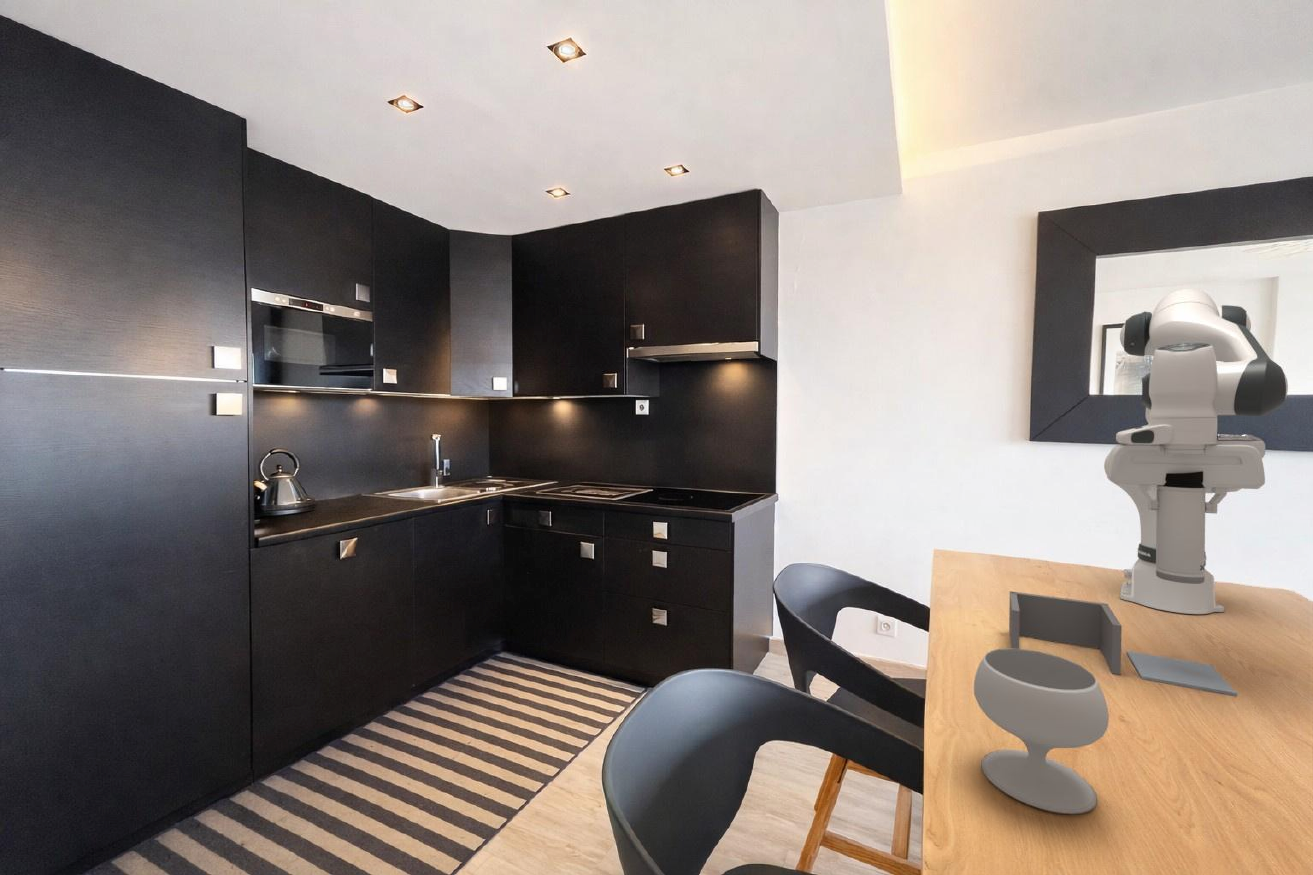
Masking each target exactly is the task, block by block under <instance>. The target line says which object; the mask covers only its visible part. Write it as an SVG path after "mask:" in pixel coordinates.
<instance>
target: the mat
mask: <svg viewBox="0 0 1313 875" xmlns="http://www.w3.org/2000/svg"><path fill="white" fill-rule="evenodd" d="M1126 655H1127V657H1128V659H1129V661H1130V662H1131V664H1132V665H1133V667H1134V669H1135V671H1136V672H1137V674H1138V676H1139V678H1140V679H1141V680H1146V681H1150V682H1156V683H1161V684H1162V683H1163V684H1166V685H1172V684H1174V685H1173V686H1179V687H1182V688H1183V687H1184V688H1190V689H1196V690H1199V691H1200V690H1201V691H1207V692H1212V693H1217V694H1224V695H1228V696H1233V697H1238V693H1237V691H1236V690H1235V689H1234V688H1233V687H1232V686H1231V685H1230V684H1229V683H1228V681H1226V679H1225V678H1224V677H1223V676H1222V675H1221V674H1220V673H1219V672H1218V670H1217V669H1216V668H1215V667H1214V666H1213V665H1212V664H1209V663H1204V662H1197V661H1191V660H1185V659H1179V658H1172V657H1166V656H1161V655H1160V656H1159V655H1155V654H1148V653H1143V652H1135V651H1130V650H1126Z"/></svg>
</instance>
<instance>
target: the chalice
mask: <svg viewBox="0 0 1313 875" xmlns="http://www.w3.org/2000/svg"><path fill="white" fill-rule="evenodd" d="M973 695H974V697H975V700H976V701H977V702H976V703H977V704H978V707H979V709H980V710H982V712H983V713H984V715H986V717H987V718H988V719H990V721H992V722H993V723H994V724H996V725H997V726H998V727H999V728H1001V729H1002V730H1004V731H1006V732H1008V733H1009V734H1011V735H1012V736H1014V737H1016V738H1018V739H1019V740H1020V741H1021V742H1022V743H1023V745H1025V747H1026V749H1027V751H1024V750H1020V749H1019V750H1018V749H1017V750H1016V749H1000V750H995V751H991V752H989V753H988V754H986V755H985V756H984V757H983V758H982V760H981V765H980V766H981V770H982V772H983V773H984V775H985V776H986V779H988V780H989V782H990V783H991V784H993V786H995V787H996V788H998V789H999V790H1000V791H1002V792H1003V793H1005V795H1008V796H1010V797H1012V798H1014V799H1016V800H1017V801H1020V802H1021V803H1024V804H1026V805H1028V806H1032V807H1034V808H1038V809H1040V810H1043V811H1046V812H1047V811H1048V812H1052V813H1058V814H1065V815H1067V814H1069V815H1074V814H1077V815H1078V814H1084V813H1087V812H1090V811H1092V810H1093V809H1094V808H1095V807H1096V806H1097V804H1098V801H1099V800H1098V796H1097V792H1096V791H1095V789H1094V788H1093V786H1092V785H1091V784H1090V783H1089V782H1088V781H1087V779H1085V777H1083V776H1081V775H1080V774H1079V773H1077V772H1076V771H1075V770H1073V769H1072V768H1070V767H1068V766H1067V765H1064V764H1062V763H1060V762H1058V761H1056V760H1054V759H1052V758H1050V757H1047V754H1048V753H1049V752H1050V751H1051V750H1054V749H1077V748H1082V747H1086V746H1090V745H1092V744H1094V743H1096V742H1097V741H1099V740H1100V739H1101V738H1102V737H1104V735H1105V734H1106V732H1107V731H1108V728H1109V720H1110V719H1109V718H1110V717H1109V716H1110V715H1109V709H1108V704H1107V700H1106V697H1105V694H1104V692H1103V690H1102V688H1101V686H1100V684H1099V681H1098V680H1097V678H1096V676H1094V674H1093V673H1092V672H1091V671H1090V670H1088V668H1087V669H1086V668H1085V667H1083V666H1082V665H1080V664H1078V663H1076V662H1074V661H1072V660H1069V659H1067V658H1064V657H1061V656H1058V655H1054V654H1051V653H1048V652H1047V653H1046V652H1042V651H1039V650H1038V651H1037V650H1033V649H1028V648H1027V649H1026V648H1019V649H1016V648H1011V647H1010V648H997V649H994V650H990V651H989V652H987V653H986V654H985V655H984V657H983V658H982V659H981V661H980V663H979V664H978V667H977V669H976V673H975V676H974V682H973Z"/></svg>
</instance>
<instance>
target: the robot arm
mask: <svg viewBox="0 0 1313 875" xmlns="http://www.w3.org/2000/svg"><path fill="white" fill-rule="evenodd" d="M1124 322H1125V323H1123V325H1122V327H1121V329H1120V332H1119V340H1120V344H1121V346H1122V348H1123V350H1124V352H1125V354H1127V355H1130V356H1135V357H1137V356H1138V357H1145V356H1152V361H1151V367H1150V369H1149V373H1147V374H1146V375H1144V376H1143V377H1141V383H1142V384H1141V401H1140V403H1141V405H1142V406H1144V407H1145V415H1144V416H1145V419H1146V421H1147V423H1148V424H1146V425H1142V426H1137V427H1134V428H1130V429H1129V428H1128V429H1125V430H1121V431H1118V432H1116V434H1115V440H1116V442H1117V443H1118V444H1116V445H1115V446H1113V447H1112V448H1111V451H1110V452H1109V453H1108V454H1107V456H1106V458H1105V460H1104V465H1103V466H1104V472H1105V474H1106V478H1107V479H1108V480H1109V481H1110V482H1111V483H1112V484H1114V485H1116V486H1118V487H1119V488H1121V489H1122V490H1123V491H1124V492H1125V493H1126V494H1127V495H1128V496H1129V497H1130V498H1131V500H1132V501H1133V503H1134V504H1135V506H1136V509H1137V511H1138V515H1139V526H1140V542H1139V544H1138V548H1137V558H1138V559H1137V560H1136V561H1135V563H1134V564H1133V565H1132V567H1131V568H1130V569H1129V568H1127V569H1123V572H1124V573H1123V574H1124V575H1123V577H1124V579H1128V580H1127V581H1124V582H1123V581H1122V582H1121V588H1120V593H1119V598H1120V600H1124V601H1127V602H1132V603H1136V604H1139V605H1142V606H1144V607H1149V608H1152V609H1157V610H1161V611H1167V612H1172V613H1178V614H1187V615H1188V614H1189V615H1207V614H1210V613H1222V612H1223V613H1224V612H1225V607H1224V606H1223V605H1222V604H1219V603H1217V602H1216V590H1215V589H1216V587H1215V577H1214V575H1213V574H1212V573H1211V572H1209V571H1208V570H1207V569H1206V568H1205V572H1204V582H1203V583H1201V584H1188V583H1179V582H1173V581H1168V580H1164V579H1161V578H1159V577H1157V576H1156V568H1157V567H1156V516H1157V510H1158V508H1159V507H1158V505H1159V501H1158V500H1157V489H1158V488H1157V485H1164V484H1165V483H1166V481H1165V477H1166V473H1193V472H1201V471H1203V482H1202V484H1203V486H1204V487H1205V488H1206V490H1205V491H1204V492H1205V494H1214V495H1213V496H1212V497H1211V499H1210V500H1209V501H1205V514H1216V515H1217V513H1218V504H1220V503H1221V502H1222V501H1223V499H1224V498H1225V497H1226V496H1227V495H1228V493H1234V492H1236V493H1237V492H1238V491H1240V490H1242V489H1244V490H1247V489H1249V490H1250V489H1251V490H1259V489H1261V487H1263V486H1264V485H1265V483H1266V477H1265V476H1266V474H1265V467H1264V462H1263V458H1265V455H1266V443H1265V442H1264V440H1263V439H1261V438H1260V437H1257V436H1254V435H1253V434H1248V433H1247V434H1245V433H1243V434H1231V433H1230V434H1229V433H1227V434H1226V433H1223V434H1222V433H1219V434H1218V416H1238V417H1258V418H1260V417H1263V416H1265V415H1268V414H1269V413H1271V412H1273V411H1275V410H1277V409H1278V408H1280V407H1281V406H1282V405H1284V404H1285V401H1286V399H1287V395H1288V392H1289V384H1288V378H1287V375H1286V373H1285V371H1284V370H1283V367H1281V365H1279V364H1278V363H1277V362H1275V361H1274V360H1272V359H1271V358H1270V356H1269V355H1268V354H1267V353H1266V352H1267V351H1265V349H1264V348H1263V347H1262V345H1261V343H1260V342H1259V341H1258V340H1257V338H1256V337H1255V336H1254V334H1253V333H1252V332H1251V328H1252V323H1251V318H1250V316H1249V315H1248V313H1247V311H1246V310H1245V309H1244V307H1242V306H1240V305H1239V306H1237V305H1225V304H1223V305H1221V306H1217V304H1216V302H1215V301H1214V300H1213V298H1212V297H1211V296H1210V295H1209V294H1208V293H1206V292H1205V291H1203V290H1200V289H1196V288H1183V289H1178V290H1174V291H1172V292H1170V293H1168V294H1167V295H1166V296H1164V297H1163V298H1161V300H1160V301H1159V302H1158V303H1157V305H1156V307H1155V308H1154V310H1153V311H1142V312H1140V313H1137V314H1134V315H1132V316H1130V317H1128V318H1127V319H1126V320H1125V321H1124ZM1206 555H1207V554H1206V551H1205V567H1206V565H1207V562H1206V561H1207V556H1206ZM1129 579H1130V580H1129Z"/></svg>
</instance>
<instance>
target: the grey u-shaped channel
mask: <svg viewBox="0 0 1313 875" xmlns="http://www.w3.org/2000/svg"><path fill="white" fill-rule="evenodd" d="M1008 618H1009V620H1008V621H1009V623H1008V624H1009V628H1008V629H1009V630H1008V633H1009V642H1010V643H1009V644H1010V648H1016V649H1020V637H1023V636H1024V637H1025V638H1029V637H1030V639H1036V640H1037V639H1038V640H1043V641H1048V642H1054V643H1055V642H1056V643H1062V644H1067V645H1073V646H1080V647H1086V648H1092V649H1096V650H1100V652H1101V653H1102V656H1103V658H1104V660H1105V662H1106V663H1107V666H1108V668H1109V670H1110V672H1111V674H1113V675H1117V676H1121V675H1122V674H1121V673H1122V627H1123V626H1122V625H1121V622H1120V621H1119V620H1118V618H1117V616H1116V614H1114V612H1113V610H1112V609H1111V607H1110V605H1109V604H1108V603H1104V602H1103V603H1102V602H1097V601H1095V602H1094V601H1089V600H1079V599H1074V598H1073V599H1072V598H1067V597H1066V598H1065V597H1059V596H1058V597H1057V596H1050V595H1049V596H1048V595H1042V594H1034V593H1026V592H1021V591H1020V592H1018V591H1011V590H1010V591H1009V617H1008Z"/></svg>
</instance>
